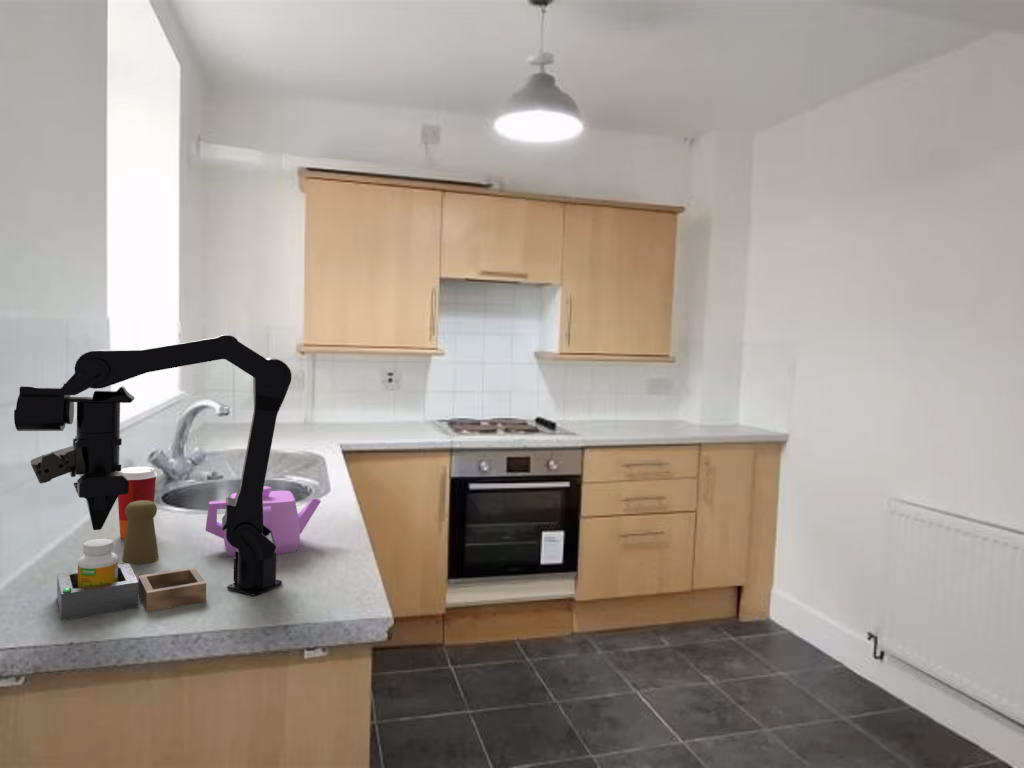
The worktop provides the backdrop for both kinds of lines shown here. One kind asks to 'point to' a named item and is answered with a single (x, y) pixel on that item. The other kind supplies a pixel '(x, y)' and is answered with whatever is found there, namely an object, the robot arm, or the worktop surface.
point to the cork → (140, 533)
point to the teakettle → (270, 519)
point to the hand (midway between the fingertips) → (97, 529)
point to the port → (96, 594)
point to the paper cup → (136, 491)
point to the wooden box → (171, 589)
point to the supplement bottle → (97, 564)
